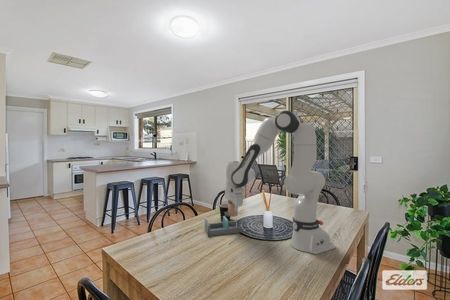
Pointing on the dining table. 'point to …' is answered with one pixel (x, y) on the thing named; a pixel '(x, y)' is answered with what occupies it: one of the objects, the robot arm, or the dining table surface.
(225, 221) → the pusher
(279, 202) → the dining table surface
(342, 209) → the dining table surface
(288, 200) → the dining table surface
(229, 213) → the jar
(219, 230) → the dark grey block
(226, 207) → the coffee mug
